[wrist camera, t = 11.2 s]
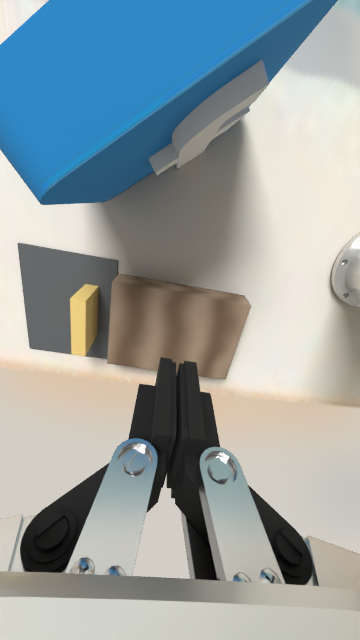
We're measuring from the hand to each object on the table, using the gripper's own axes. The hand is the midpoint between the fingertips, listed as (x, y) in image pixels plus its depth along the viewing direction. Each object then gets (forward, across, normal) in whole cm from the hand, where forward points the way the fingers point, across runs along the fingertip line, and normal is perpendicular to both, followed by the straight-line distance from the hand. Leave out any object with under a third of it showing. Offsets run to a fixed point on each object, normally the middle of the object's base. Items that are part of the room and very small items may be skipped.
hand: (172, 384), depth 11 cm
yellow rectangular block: (+24, +11, +11) cm, 28 cm away
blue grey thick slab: (+27, +4, -14) cm, 31 cm away
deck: (+27, -2, +11) cm, 29 cm away
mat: (+27, +15, +11) cm, 33 cm away
